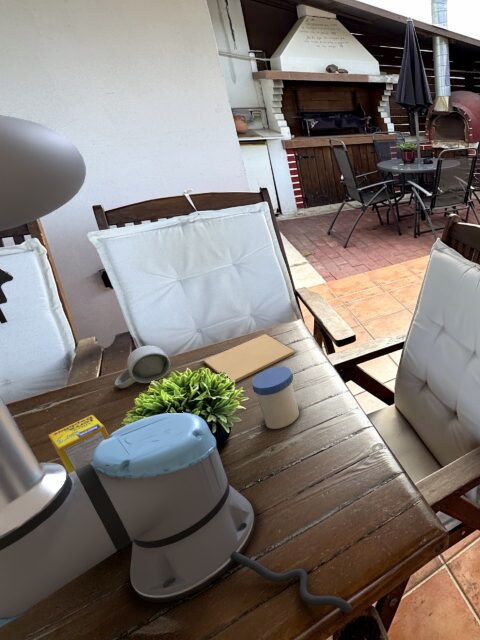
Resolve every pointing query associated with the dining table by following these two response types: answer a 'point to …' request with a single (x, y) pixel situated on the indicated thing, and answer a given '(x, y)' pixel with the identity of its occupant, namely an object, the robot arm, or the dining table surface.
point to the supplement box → (78, 442)
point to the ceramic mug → (144, 366)
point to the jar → (279, 408)
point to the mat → (249, 357)
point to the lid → (272, 380)
